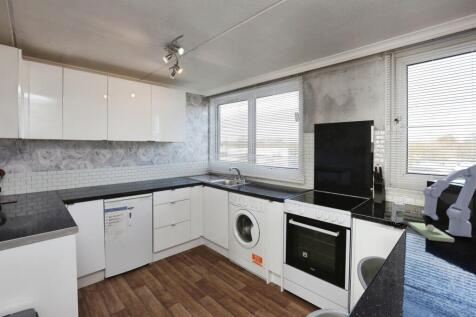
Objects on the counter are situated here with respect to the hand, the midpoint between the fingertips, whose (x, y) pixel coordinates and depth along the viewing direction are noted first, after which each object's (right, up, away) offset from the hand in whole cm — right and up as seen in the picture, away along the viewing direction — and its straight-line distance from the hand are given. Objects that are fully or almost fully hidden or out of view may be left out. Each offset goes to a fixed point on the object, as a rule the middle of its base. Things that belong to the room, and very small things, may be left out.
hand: (428, 227), depth 142 cm
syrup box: (-7, -3, +18) cm, 19 cm away
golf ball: (0, 0, -2) cm, 2 cm away
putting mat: (+1, -3, 0) cm, 4 cm away
